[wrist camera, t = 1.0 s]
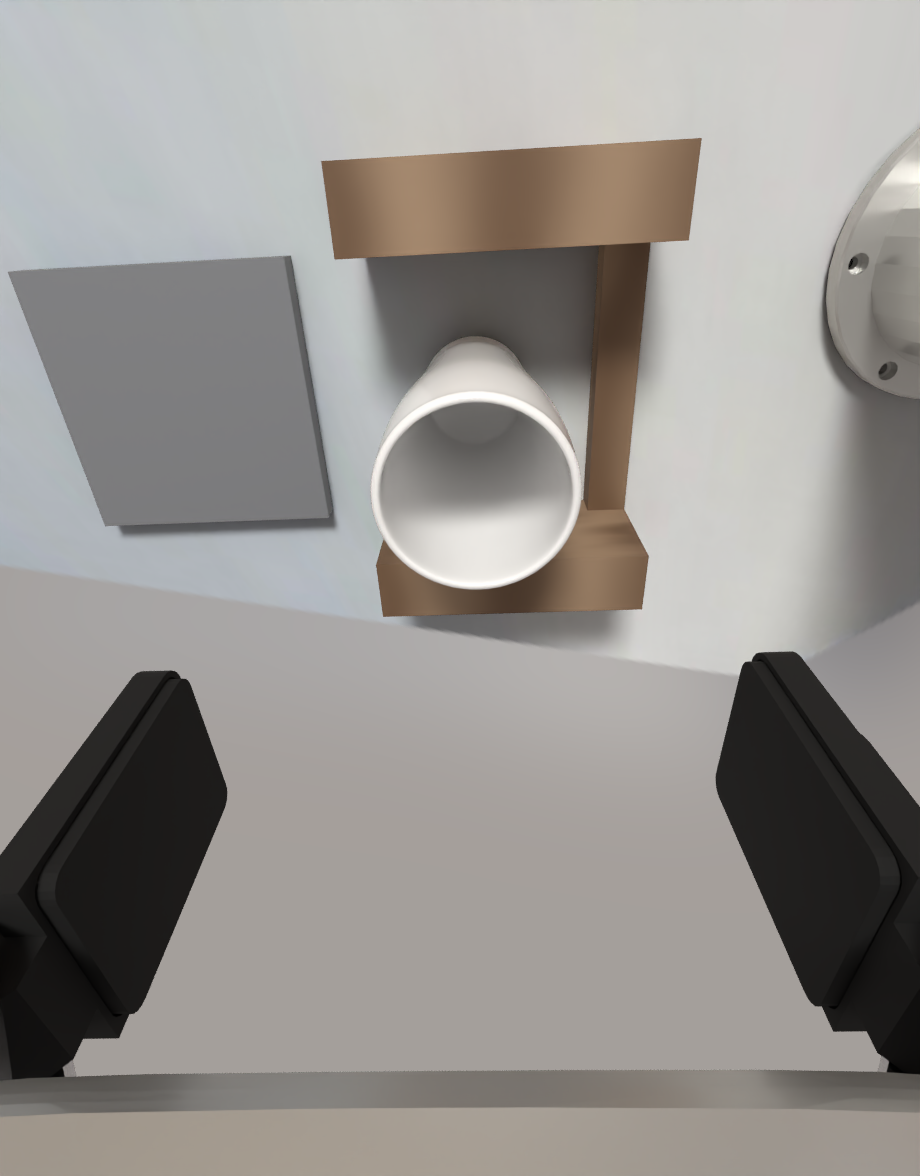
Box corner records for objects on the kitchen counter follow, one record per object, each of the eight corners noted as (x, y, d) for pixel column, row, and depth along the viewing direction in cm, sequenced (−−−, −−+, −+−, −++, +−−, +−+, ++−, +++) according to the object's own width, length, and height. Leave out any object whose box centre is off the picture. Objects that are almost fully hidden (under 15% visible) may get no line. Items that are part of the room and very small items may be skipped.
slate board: (290, 255, 29) (283, 257, 28) (333, 509, 35) (329, 517, 34) (24, 270, 29) (7, 271, 28) (115, 517, 36) (105, 526, 35)
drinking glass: (510, 468, 34) (534, 617, 21) (394, 427, 33) (343, 558, 20) (560, 346, 31) (624, 436, 18) (433, 297, 30) (402, 354, 17)
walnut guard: (650, 157, 27) (701, 138, 21) (614, 545, 36) (641, 609, 30) (355, 174, 27) (321, 161, 21) (398, 552, 37) (383, 616, 31)
